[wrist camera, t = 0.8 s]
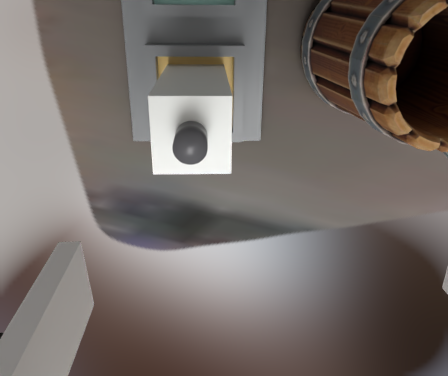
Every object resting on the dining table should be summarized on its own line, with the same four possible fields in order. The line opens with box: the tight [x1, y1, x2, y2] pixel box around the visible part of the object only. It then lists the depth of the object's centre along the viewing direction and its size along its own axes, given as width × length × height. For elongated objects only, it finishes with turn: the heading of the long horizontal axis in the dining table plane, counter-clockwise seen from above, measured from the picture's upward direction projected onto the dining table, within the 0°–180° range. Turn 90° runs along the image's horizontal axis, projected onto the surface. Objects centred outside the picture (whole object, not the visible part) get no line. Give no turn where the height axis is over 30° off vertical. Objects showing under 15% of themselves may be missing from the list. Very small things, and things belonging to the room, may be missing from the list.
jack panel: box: [121, 0, 267, 142], centre depth 32 cm, size 18×11×2 cm, turn 0°
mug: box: [301, 0, 448, 158], centre depth 28 cm, size 16×11×15 cm
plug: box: [148, 64, 232, 174], centre depth 28 cm, size 5×4×14 cm
